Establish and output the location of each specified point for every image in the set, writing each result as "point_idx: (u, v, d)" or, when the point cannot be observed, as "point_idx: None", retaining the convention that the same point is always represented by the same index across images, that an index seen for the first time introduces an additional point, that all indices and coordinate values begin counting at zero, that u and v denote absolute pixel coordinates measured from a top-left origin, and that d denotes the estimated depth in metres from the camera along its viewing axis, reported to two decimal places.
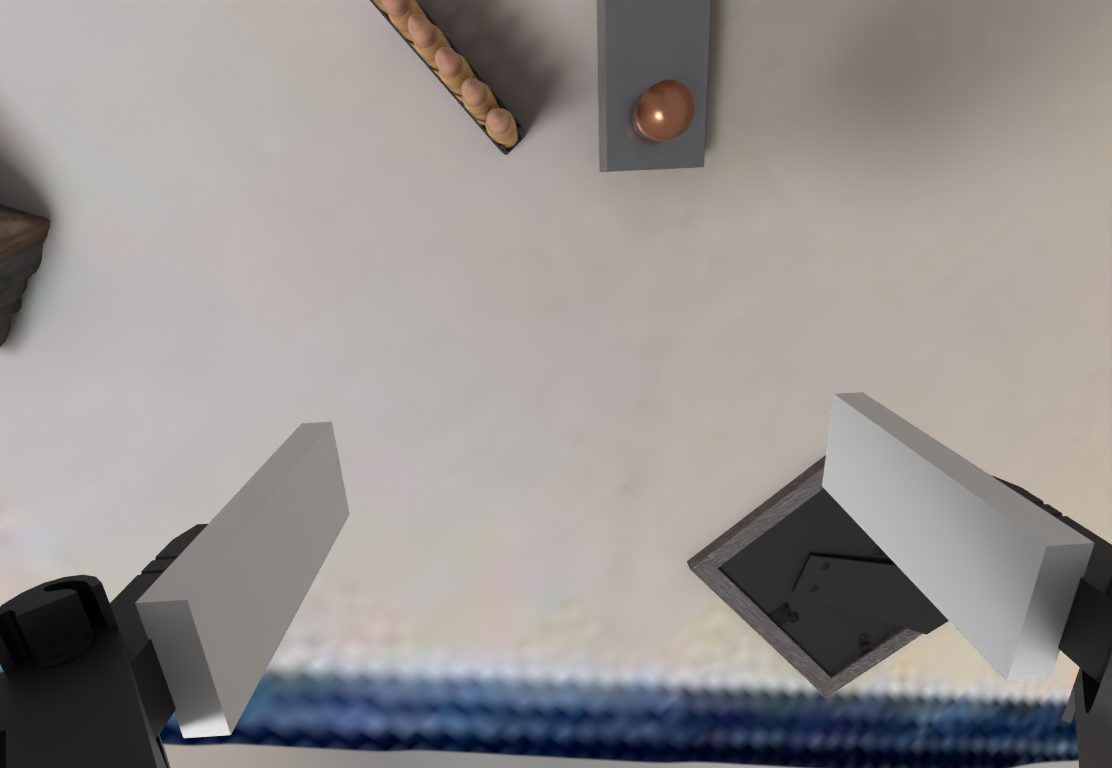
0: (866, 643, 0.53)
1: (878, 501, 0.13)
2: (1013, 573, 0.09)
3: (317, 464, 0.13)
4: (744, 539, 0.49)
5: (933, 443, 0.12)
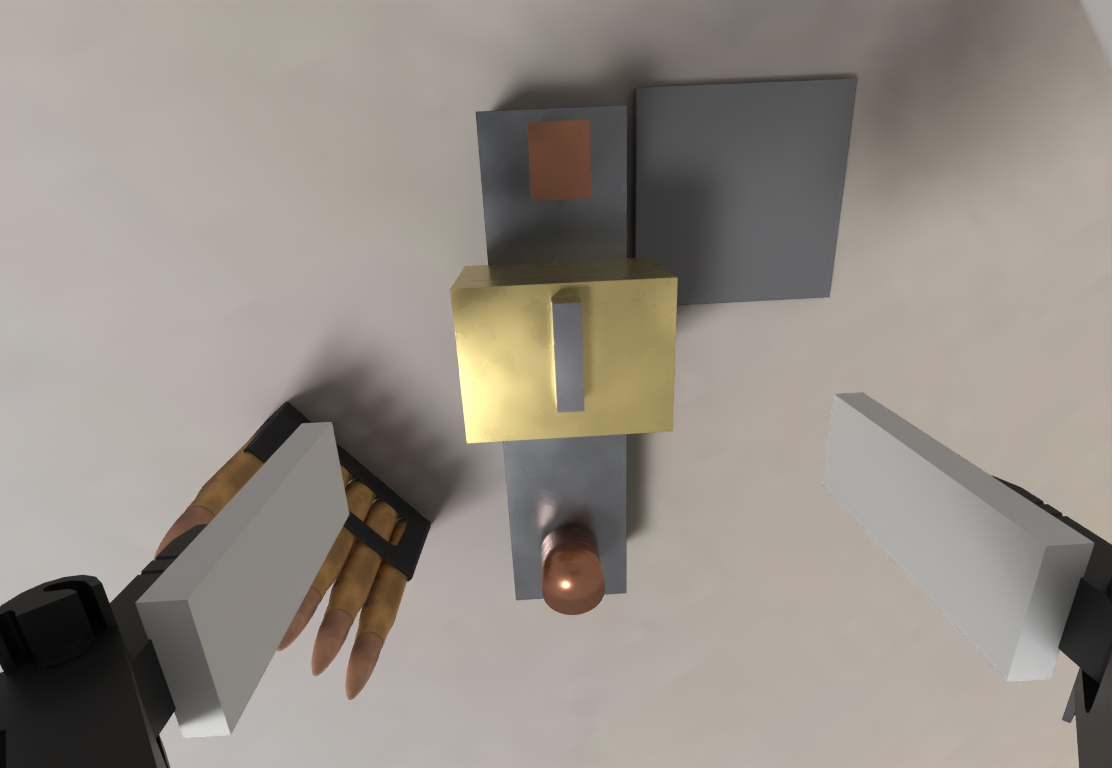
0: None
1: (878, 502, 0.13)
2: (1013, 573, 0.09)
3: (317, 464, 0.13)
4: None
5: (933, 443, 0.12)
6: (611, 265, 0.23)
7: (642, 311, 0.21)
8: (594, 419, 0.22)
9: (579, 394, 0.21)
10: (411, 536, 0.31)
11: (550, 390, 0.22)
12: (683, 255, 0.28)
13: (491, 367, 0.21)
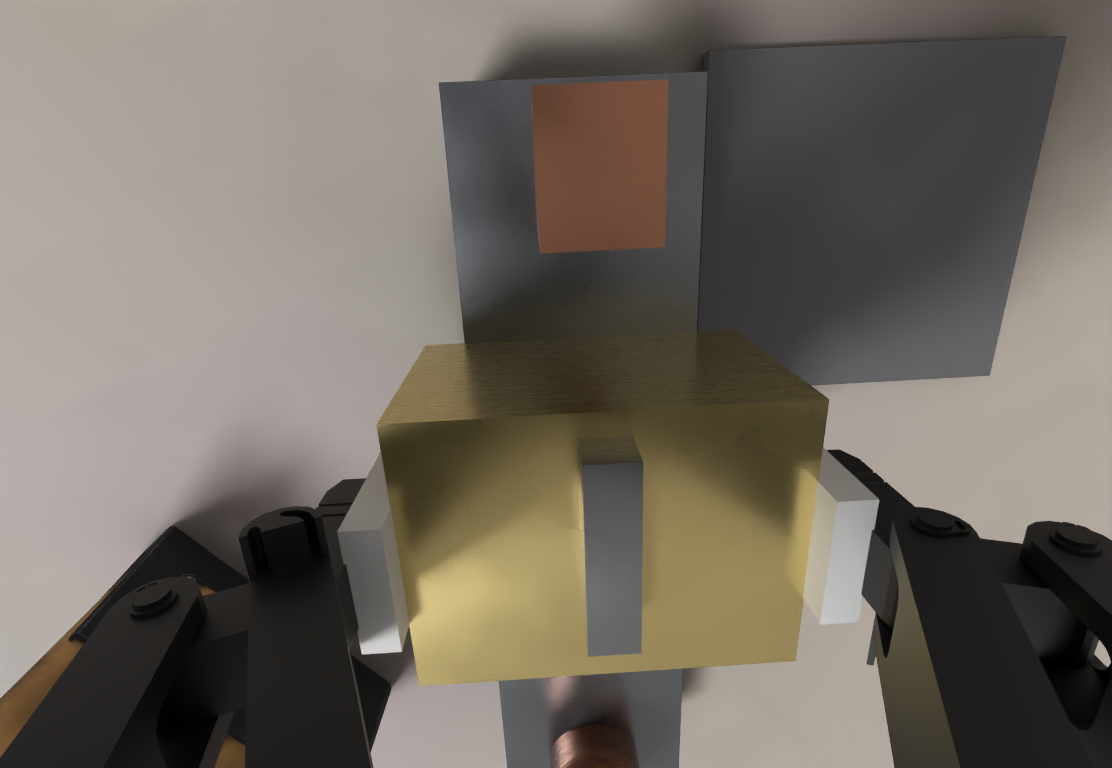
0: None
1: None
2: (821, 528, 0.11)
3: None
4: None
5: None
6: (678, 352, 0.13)
7: (754, 462, 0.11)
8: (653, 645, 0.12)
9: (632, 625, 0.10)
10: None
11: (575, 599, 0.11)
12: (772, 314, 0.18)
13: (462, 563, 0.11)
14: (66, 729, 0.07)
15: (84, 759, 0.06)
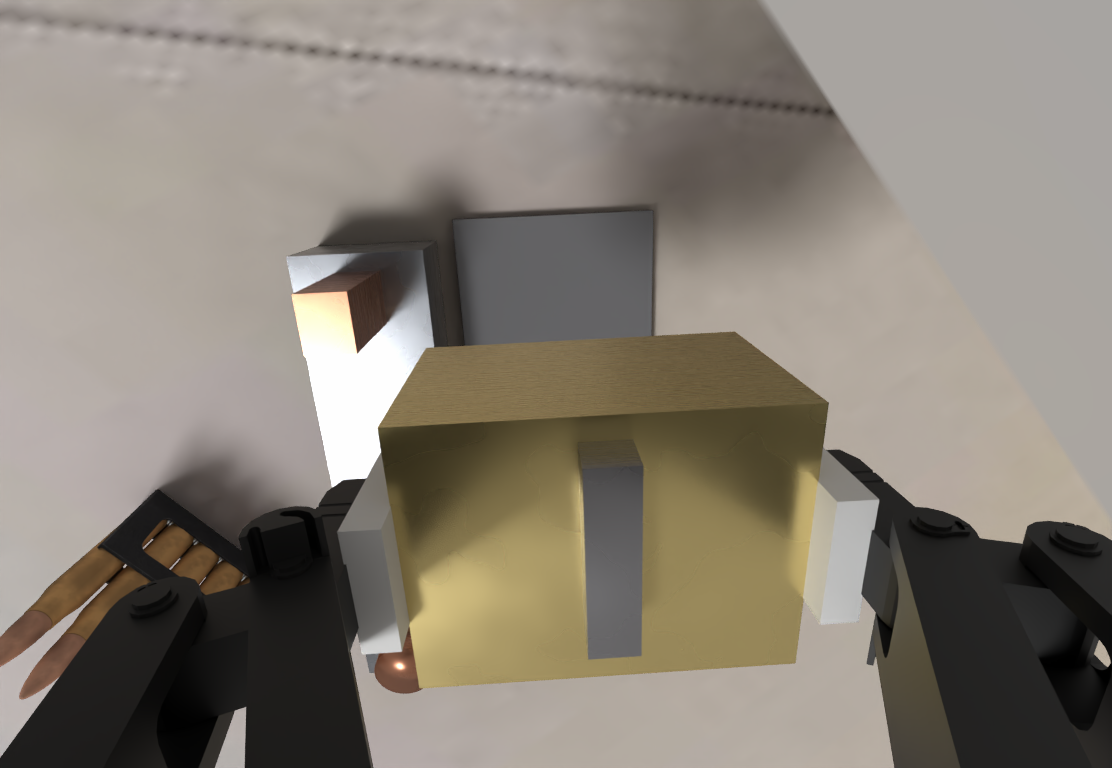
0: None
1: None
2: (821, 528, 0.11)
3: None
4: None
5: None
6: (678, 354, 0.13)
7: (754, 465, 0.11)
8: (653, 647, 0.12)
9: (632, 628, 0.11)
10: None
11: (574, 602, 0.12)
12: None
13: (462, 565, 0.11)
14: (66, 729, 0.07)
15: (84, 759, 0.06)
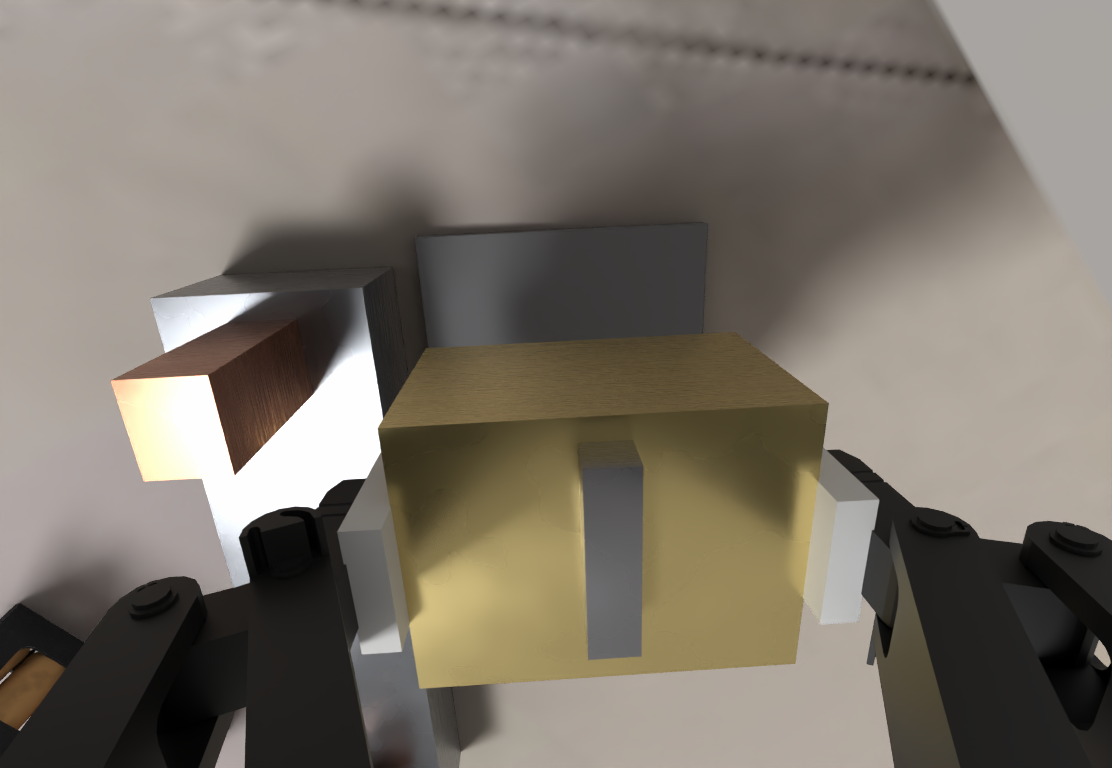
0: None
1: None
2: (821, 528, 0.11)
3: None
4: None
5: None
6: (678, 355, 0.13)
7: (754, 465, 0.11)
8: (653, 647, 0.12)
9: (632, 629, 0.11)
10: None
11: (574, 602, 0.12)
12: None
13: (462, 566, 0.11)
14: (66, 729, 0.07)
15: (84, 759, 0.06)
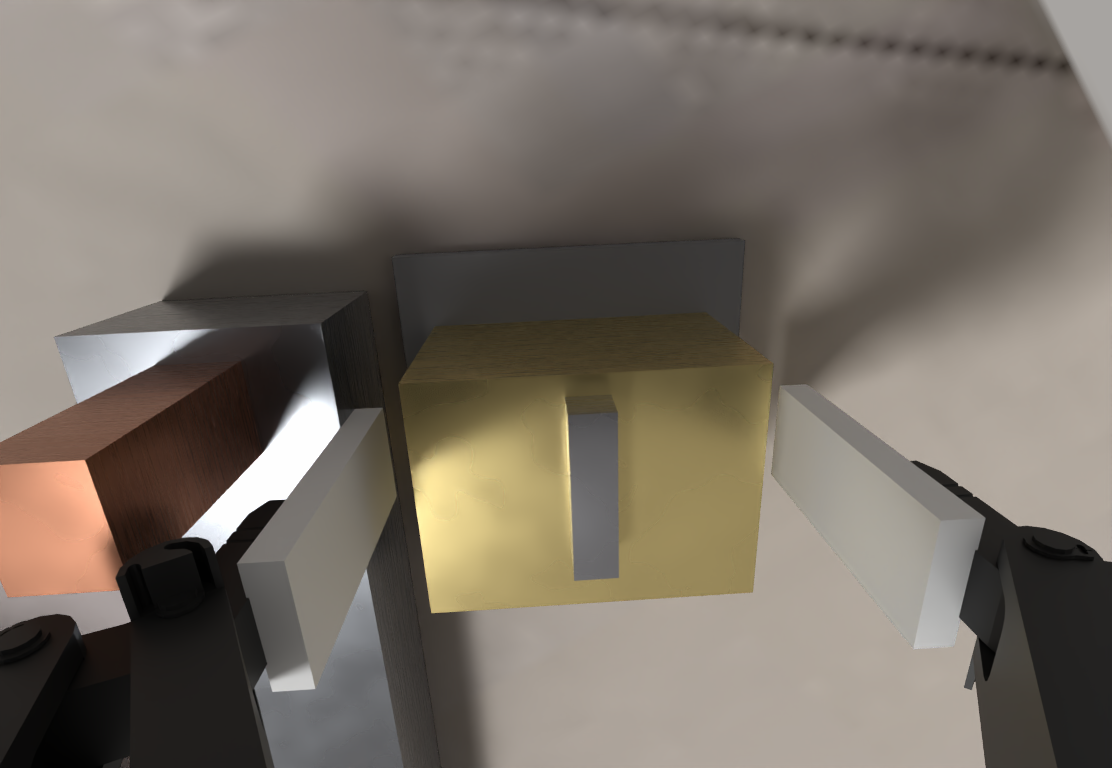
0: None
1: (815, 486, 0.14)
2: (916, 547, 0.10)
3: (373, 446, 0.14)
4: None
5: (861, 430, 0.13)
6: (654, 330, 0.15)
7: (712, 417, 0.13)
8: (630, 577, 0.14)
9: (611, 553, 0.13)
10: None
11: (563, 536, 0.14)
12: None
13: (468, 503, 0.13)
14: None
15: None
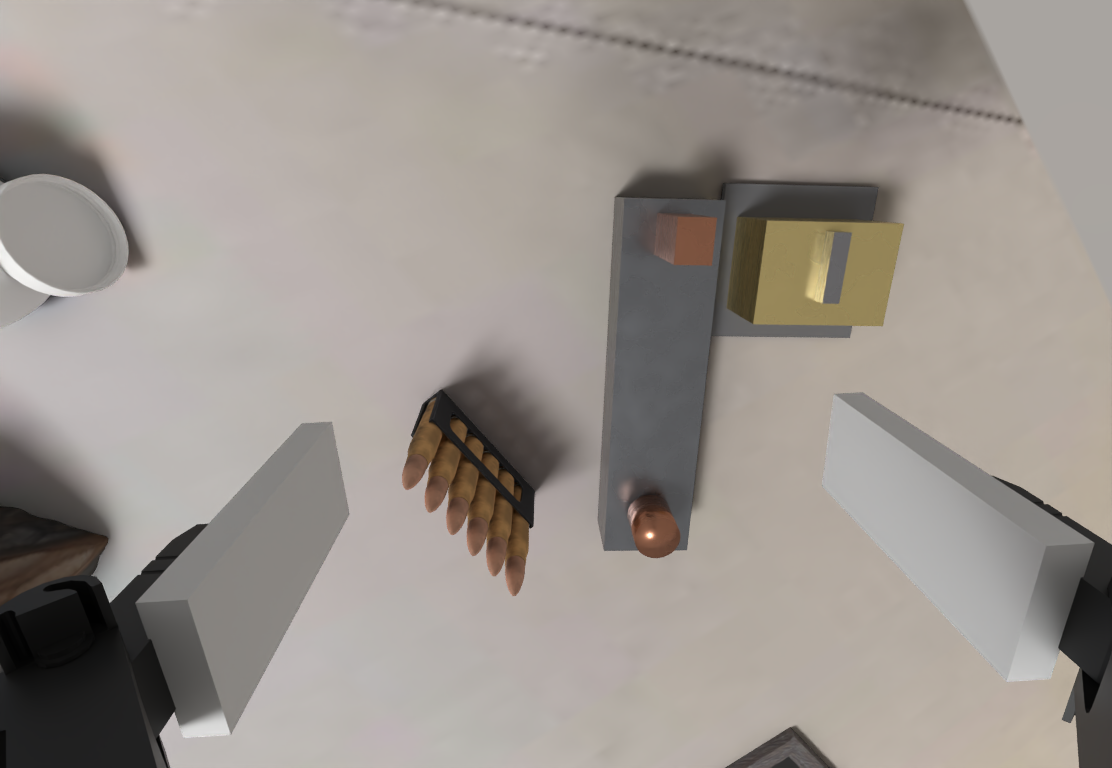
0: None
1: (878, 501, 0.13)
2: (1013, 573, 0.09)
3: (317, 464, 0.13)
4: None
5: (933, 443, 0.12)
6: None
7: (878, 244, 0.33)
8: (835, 314, 0.35)
9: (838, 292, 0.33)
10: (526, 497, 0.41)
11: (812, 292, 0.34)
12: None
13: (780, 274, 0.34)
14: None
15: None
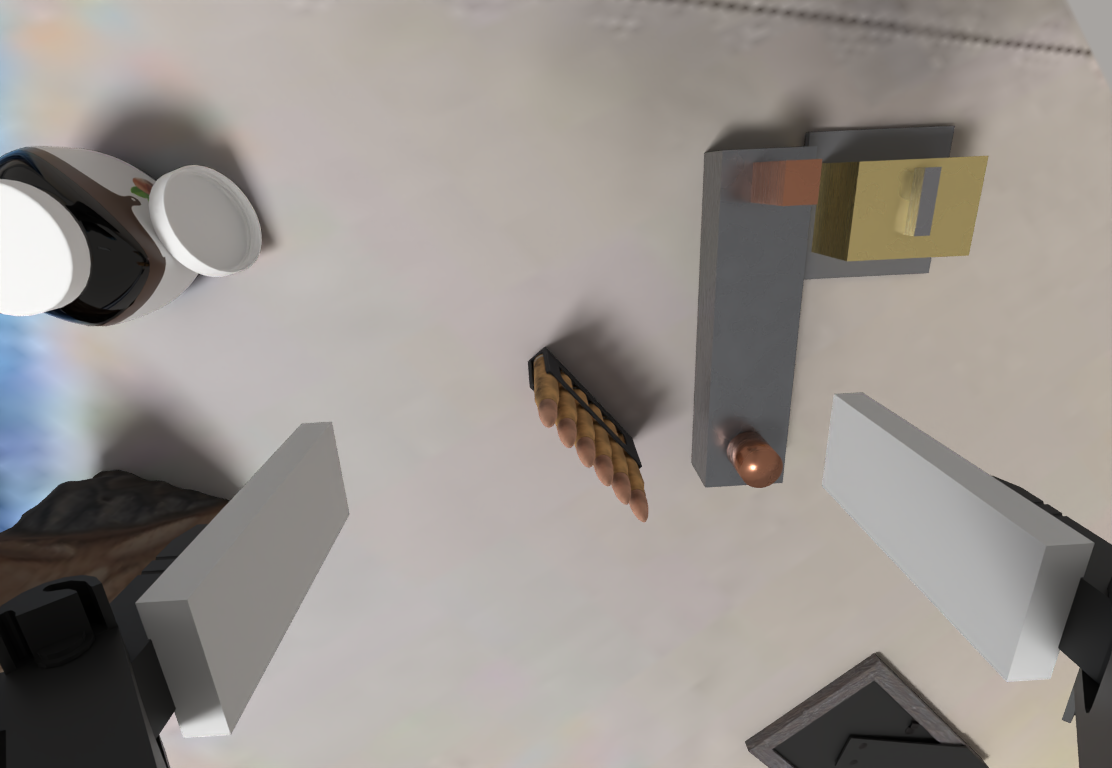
0: None
1: (878, 501, 0.13)
2: (1013, 573, 0.09)
3: (317, 464, 0.13)
4: (795, 727, 0.57)
5: (933, 443, 0.12)
6: None
7: (964, 176, 0.36)
8: (924, 246, 0.37)
9: (929, 224, 0.35)
10: (629, 443, 0.45)
11: (902, 227, 0.36)
12: None
13: (872, 211, 0.36)
14: None
15: None
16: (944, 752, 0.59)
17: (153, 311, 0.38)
